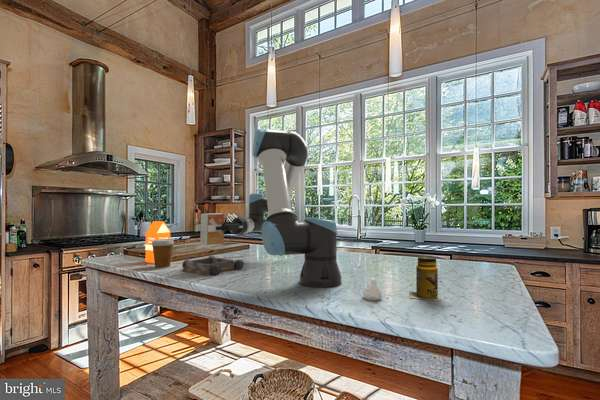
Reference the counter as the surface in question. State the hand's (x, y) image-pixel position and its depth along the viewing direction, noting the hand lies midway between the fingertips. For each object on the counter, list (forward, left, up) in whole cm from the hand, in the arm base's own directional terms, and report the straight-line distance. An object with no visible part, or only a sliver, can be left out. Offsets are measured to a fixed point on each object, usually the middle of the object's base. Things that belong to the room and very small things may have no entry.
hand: (202, 228), depth 129 cm
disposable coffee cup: (+25, +3, -18) cm, 31 cm away
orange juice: (+39, -3, -18) cm, 43 cm away
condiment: (-84, -16, -19) cm, 88 cm away
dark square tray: (+1, -6, -18) cm, 19 cm away
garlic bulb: (-72, -6, -19) cm, 75 cm away
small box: (0, -5, -7) cm, 9 cm away
